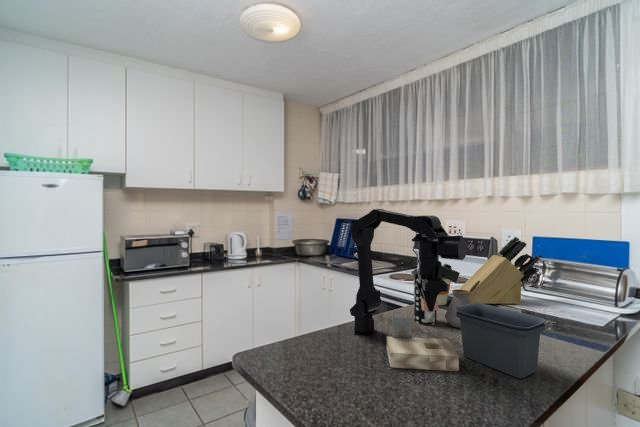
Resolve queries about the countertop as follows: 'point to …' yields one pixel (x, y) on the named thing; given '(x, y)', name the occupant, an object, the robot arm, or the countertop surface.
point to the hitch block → (422, 354)
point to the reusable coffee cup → (443, 294)
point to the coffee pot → (458, 300)
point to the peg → (429, 314)
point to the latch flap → (401, 327)
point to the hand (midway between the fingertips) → (429, 309)
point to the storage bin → (501, 338)
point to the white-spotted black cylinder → (418, 310)
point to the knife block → (502, 276)
